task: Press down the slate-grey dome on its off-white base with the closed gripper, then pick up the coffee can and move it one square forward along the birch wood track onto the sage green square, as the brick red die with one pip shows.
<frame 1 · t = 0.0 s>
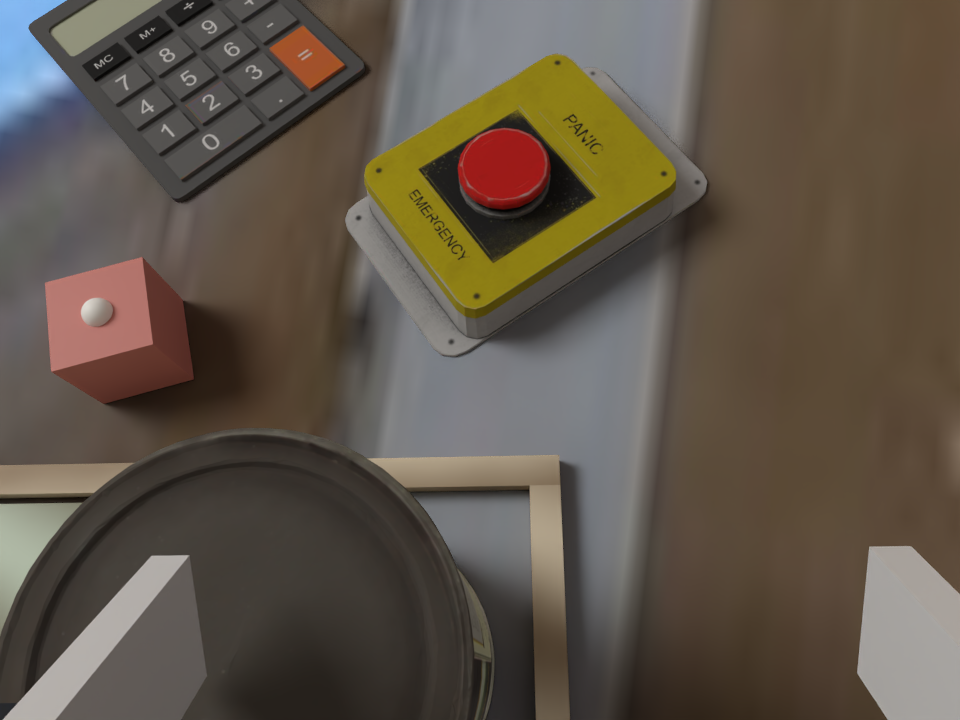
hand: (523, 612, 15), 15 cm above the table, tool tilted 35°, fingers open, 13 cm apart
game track: (176, 664, 30), on the table
red die: (144, 350, 35), on the table
coffee can: (362, 663, 30), resting in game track
emergency button: (525, 211, 37), on the table
calculator: (198, 58, 42), on the table
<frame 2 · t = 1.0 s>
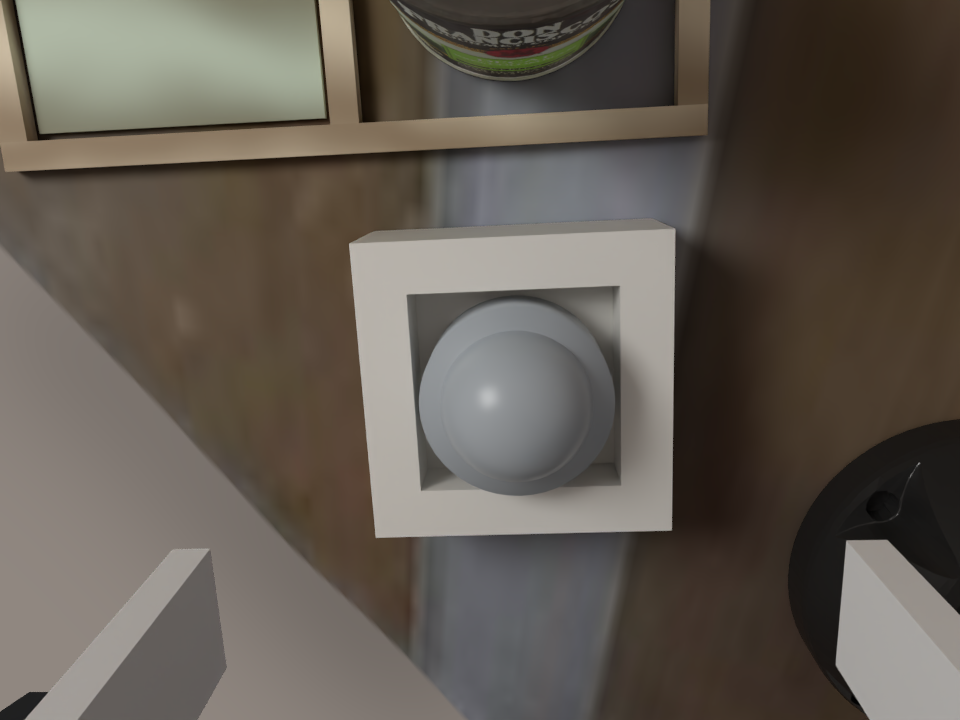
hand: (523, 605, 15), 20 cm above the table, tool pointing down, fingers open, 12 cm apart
dome base: (516, 359, 35), on the table
dome: (516, 405, 29), point 7 cm above the table, slide at 0.0 cm
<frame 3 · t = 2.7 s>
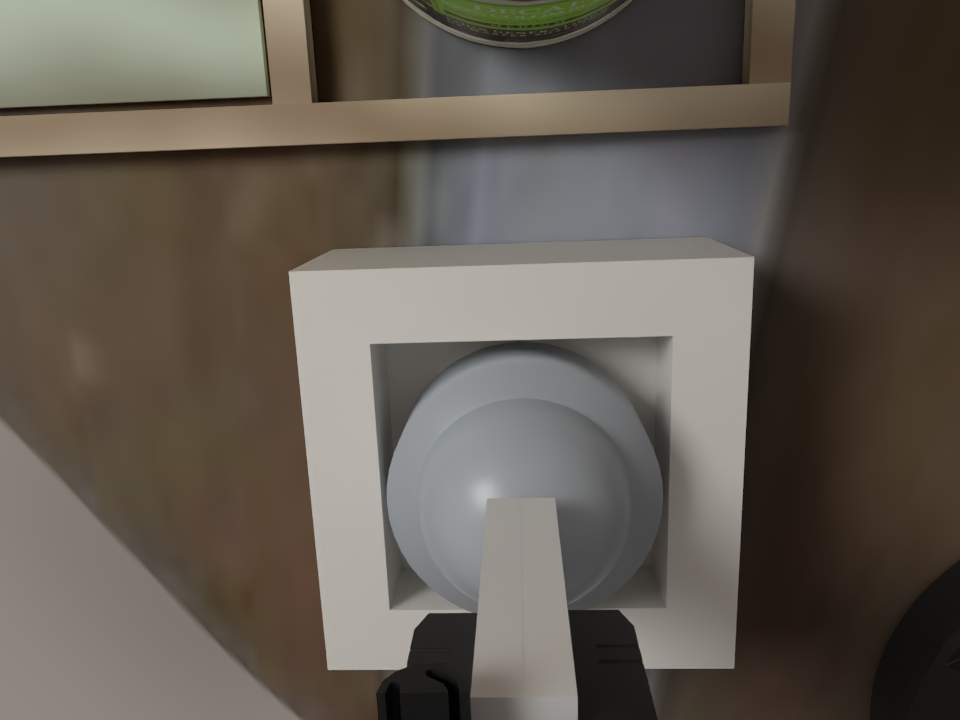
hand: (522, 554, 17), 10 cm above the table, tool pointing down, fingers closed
dome base: (522, 419, 27), on the table
dome: (523, 500, 20), point 7 cm above the table, slide at 0.3 cm, touching gripper
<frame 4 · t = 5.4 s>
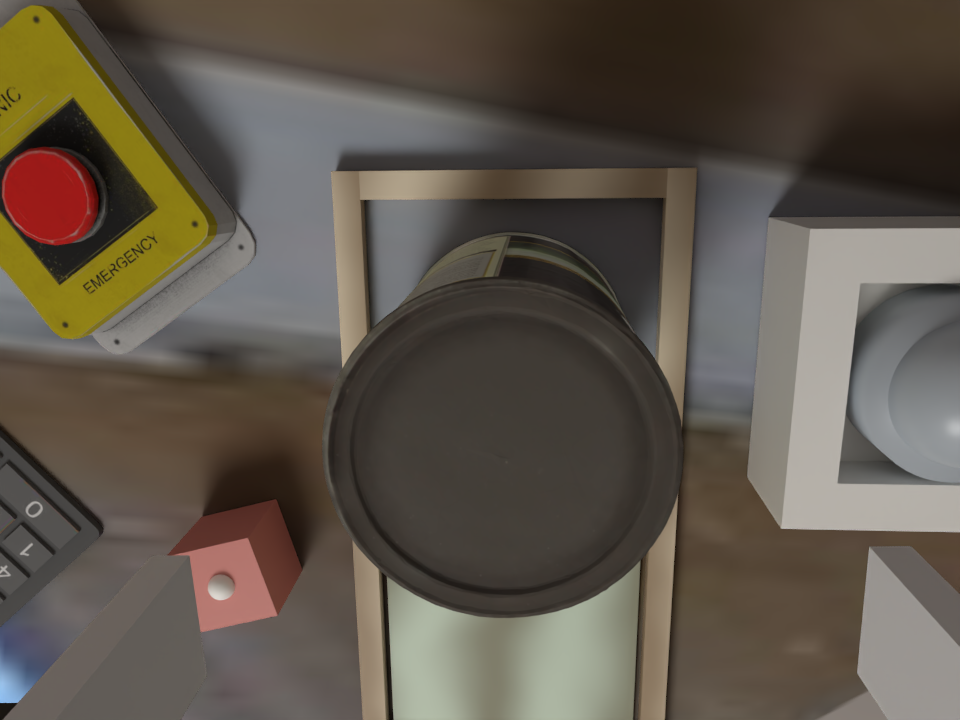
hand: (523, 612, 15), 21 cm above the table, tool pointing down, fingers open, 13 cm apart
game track: (511, 486, 38), on the table
red die: (252, 543, 39), on the table
dome base: (895, 353, 35), on the table
coffee can: (512, 341, 36), resting in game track
emergency button: (91, 171, 36), on the table
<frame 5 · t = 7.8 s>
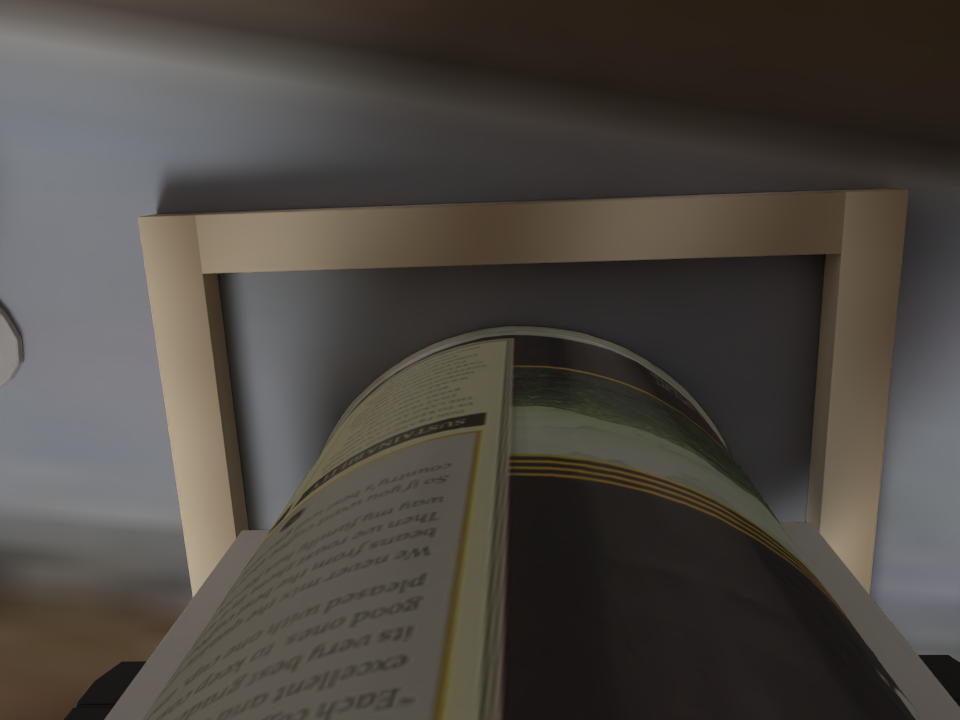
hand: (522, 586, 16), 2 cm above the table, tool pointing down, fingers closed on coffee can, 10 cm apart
coffee can: (520, 530, 19), resting in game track, touching gripper
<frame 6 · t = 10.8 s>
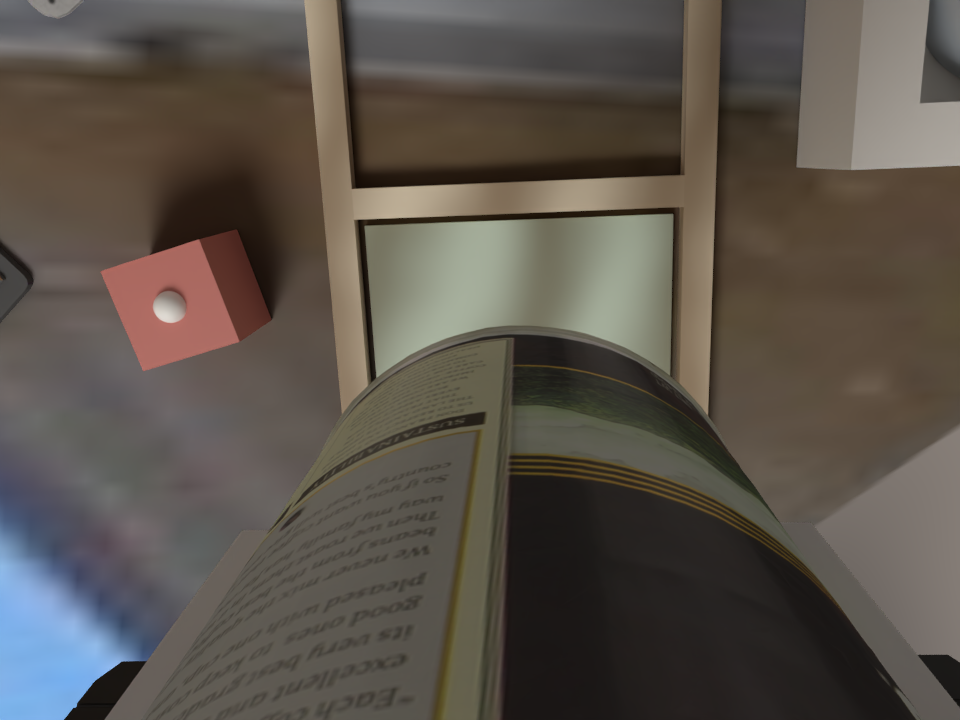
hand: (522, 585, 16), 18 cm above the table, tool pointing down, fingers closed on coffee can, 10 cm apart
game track: (516, 196, 32), on the table
red die: (210, 288, 33), on the table
coffee can: (520, 529, 19), point 15 cm above the table, touching gripper
when the fingers open (4 cm above the table, at t = 13.9 s): coffee can drops 1 cm, resting on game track.
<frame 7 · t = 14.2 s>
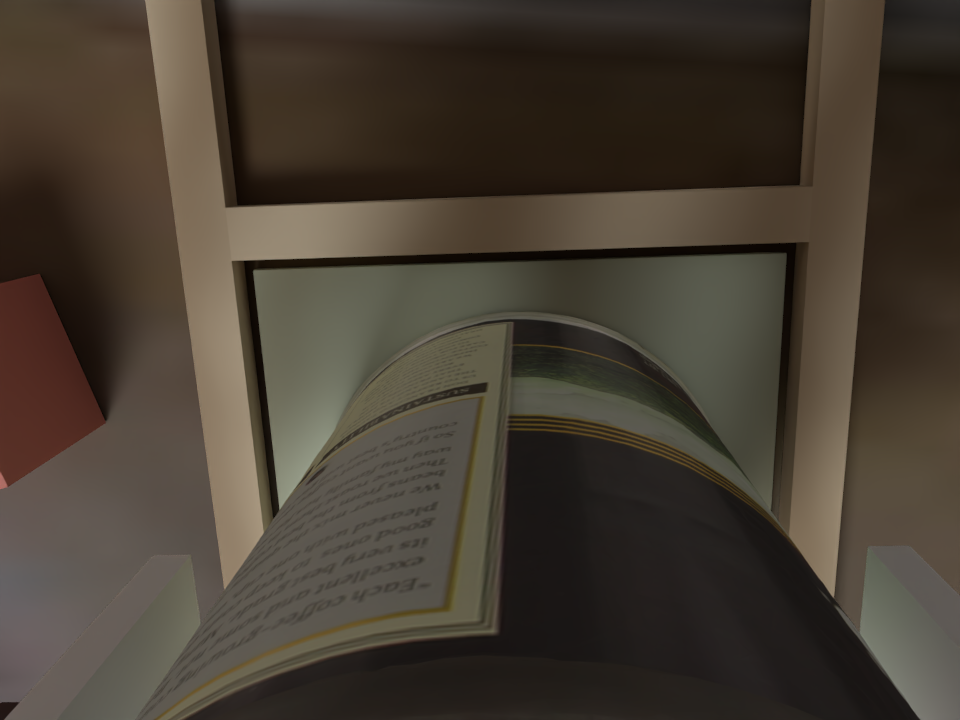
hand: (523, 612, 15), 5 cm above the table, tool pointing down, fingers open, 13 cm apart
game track: (514, 221, 18), on the table
red die: (2, 371, 20), on the table
coffee can: (519, 502, 20), resting on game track
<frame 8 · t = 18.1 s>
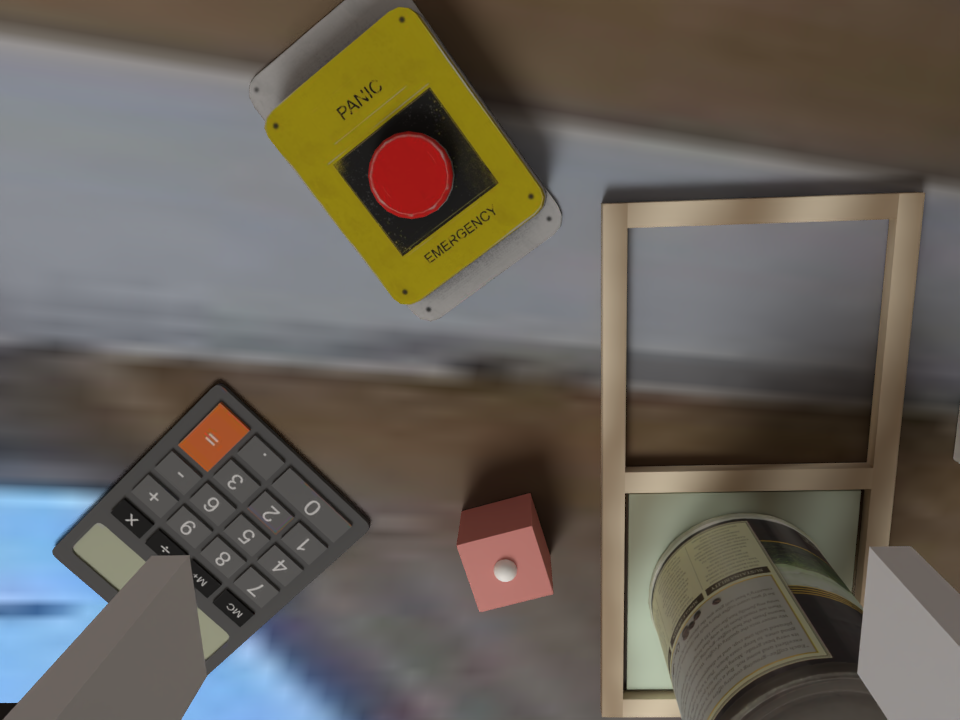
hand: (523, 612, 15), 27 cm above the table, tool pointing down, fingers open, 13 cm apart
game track: (743, 474, 43), on the table
red die: (506, 533, 44), on the table
coffee can: (737, 591, 44), resting on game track
emergency button: (409, 156, 40), on the table
calculator: (214, 532, 46), on the table
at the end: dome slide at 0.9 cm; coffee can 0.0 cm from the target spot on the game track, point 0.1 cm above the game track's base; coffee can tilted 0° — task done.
